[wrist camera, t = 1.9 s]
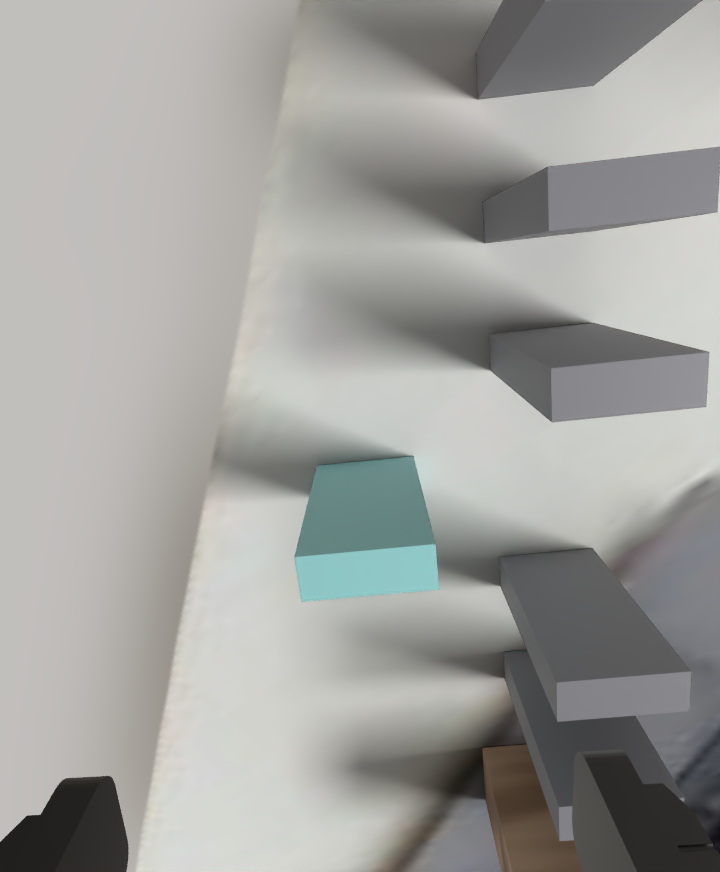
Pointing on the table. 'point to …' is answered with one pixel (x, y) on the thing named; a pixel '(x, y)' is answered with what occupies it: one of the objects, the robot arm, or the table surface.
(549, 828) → the end block
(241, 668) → the table surface
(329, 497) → the domino
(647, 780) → the domino
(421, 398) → the table surface
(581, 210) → the domino
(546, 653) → the domino
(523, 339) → the domino
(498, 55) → the domino
